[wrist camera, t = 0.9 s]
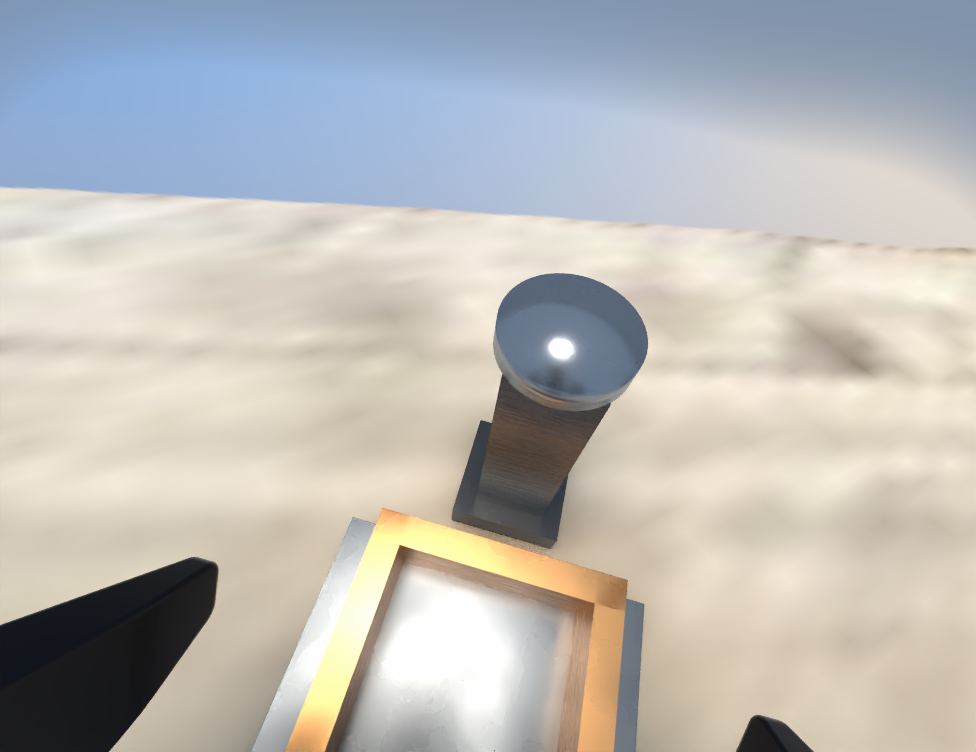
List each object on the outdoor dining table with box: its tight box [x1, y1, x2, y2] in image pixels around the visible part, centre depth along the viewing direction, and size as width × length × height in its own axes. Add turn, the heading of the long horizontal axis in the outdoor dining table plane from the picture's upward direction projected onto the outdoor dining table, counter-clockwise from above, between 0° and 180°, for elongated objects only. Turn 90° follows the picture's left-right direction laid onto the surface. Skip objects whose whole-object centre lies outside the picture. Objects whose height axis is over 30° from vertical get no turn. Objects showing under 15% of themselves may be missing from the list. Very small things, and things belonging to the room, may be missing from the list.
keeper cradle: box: [251, 508, 644, 752], centre depth 17 cm, size 13×14×4 cm
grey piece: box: [452, 273, 648, 549], centre depth 19 cm, size 5×5×13 cm
